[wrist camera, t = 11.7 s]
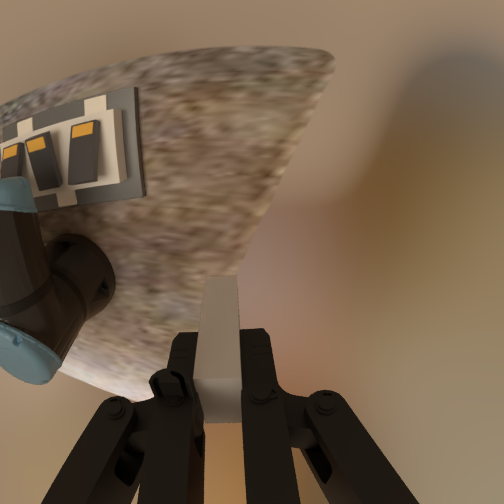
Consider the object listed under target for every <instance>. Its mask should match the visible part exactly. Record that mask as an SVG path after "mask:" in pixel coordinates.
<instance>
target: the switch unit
mask: <svg viewBox="0 0 504 504" xmlns="http://www.w3.org/2000/svg"><path fill="white" fill-rule="evenodd" d="M96 119H97V120H98V121H99V122H100V131H99V149H98V181H96V182H90V183H84V184H78V185H73V186H72V185H68V162H69V144H70V132H71V126H72V125H75V124H79V123H83V122H87V121H91V120H96ZM47 131H50V134H51V139H52V143H53V147H54V151H55V155H56V159H57V163H58V167H59V170H60V174H61V177H62V181H63V184H62V185H61V186H60V187H58V188H53V189H48V190H43V191H39V189H38V186H37V183H36V180H35V177H34V173H33V170H32V167H31V163H30V160H29V156H28V152H27V148H26V144H25V140H26V139H28V138H29V137H32V136H35V135H38V134H41V133H44V132H47ZM3 141H4V143H1V144H0V149H1V159H2V157H3V148H5V147H8V146H10V145H13V144H15V143H18V142H21V143H24V152H23V166H22V177H24V178H25V179H27V180H28V181H29V183H30V185H31V189H32V194H33V199H34V203H35V207H36V208H37V210H38V212H41V211H47V210H53V209H59V208H65V207H72V206H79V205H86V204H93V203H101V202H109V201H117V200H126V199H135V198H143V197H144V196H145V195H146V194H145V186H144V177H143V168H142V158H141V146H140V133H139V118H138V97H137V88H136V87H130V88H125V89H121V90H116V91H112V92H107V93H103V94H99V95H95V96H92V97H88V98H84V99H81V100H77V101H74V102H70V103H67V104H64V105H61V106H58V107H55V108H52V109H49V110H46V111H43V112H41V113H38V114H35V115H32V116H30V117H27V118H25V119H22V120H20V121H17V122H15V123H13V124H10V125H8V126H6V127H4V128H3Z"/></svg>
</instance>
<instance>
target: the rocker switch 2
mask: <svg viewBox="0 0 504 504" xmlns="http://www.w3.org/2000/svg"><path fill="white" fill-rule="evenodd" d="M25 144H26V148H27V152H28V156H29V160H30V163H31V167H32V170H33V173H34V177H35V180H36V183H37V186H38V189H39V191H43V190H48V189H53V188H58V187H60V186H61V185H62V184H63V181H62V177H61V174H60V170H59V167H58V163H57V159H56V155H55V151H54V147H53V143H52V139H51V134H50V131H47V132H44V133H41V134H38V135H35V136H32V137H29V138H28V139H26V140H25Z"/></svg>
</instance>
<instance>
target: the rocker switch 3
mask: <svg viewBox="0 0 504 504" xmlns="http://www.w3.org/2000/svg"><path fill="white" fill-rule="evenodd" d="M99 131H100V122H99V121H98V120H97V119H96V120H91V121H87V122H83V123H79V124H75V125H72V126H71V132H70V144H69V162H68V185H72V186H73V185H78V184H84V183H90V182H96V181H98V149H99Z"/></svg>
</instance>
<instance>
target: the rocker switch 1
mask: <svg viewBox="0 0 504 504" xmlns="http://www.w3.org/2000/svg"><path fill="white" fill-rule="evenodd" d="M23 152H24V143H21V142H18V143H15V144H13V145H10V146H8V147H5V148H3V157H2V170H1V179H3V178H9V177H16V176H21V177H22V166H23Z"/></svg>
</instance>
